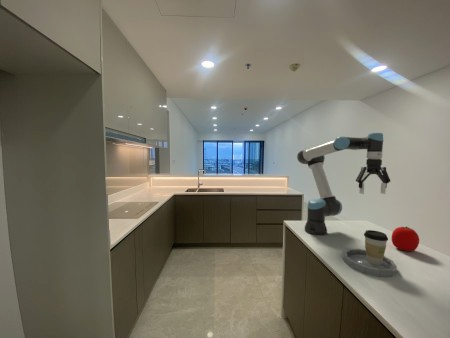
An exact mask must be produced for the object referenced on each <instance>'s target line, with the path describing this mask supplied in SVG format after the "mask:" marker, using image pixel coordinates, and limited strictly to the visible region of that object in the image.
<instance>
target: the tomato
mask: <svg viewBox="0 0 450 338" xmlns="http://www.w3.org/2000/svg"><path fill="white" fill-rule="evenodd" d="M390 240H391V243H392V245H393V246H394V247H395V248H396V249H399V250H401V251H405V252H414V251H415V250H417V248H419V244H420V237H419V234H418V232H417V231H415V229H413V228H410V227H408V226H398V227H396V228H395V229H394V230H393V231H392V234H391V239H390Z"/></svg>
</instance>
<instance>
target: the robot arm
mask: <svg viewBox="0 0 450 338" xmlns="http://www.w3.org/2000/svg"><path fill="white" fill-rule="evenodd" d="M383 146H384V134H383V133H382V132H369V133H368V134H367V137H349V136H338V137H336V138H334V140H332V141H329V142H325V143H324V144H320V145H318V146H314V147H312V148H304V149H302V150H300V151H299V152H298V153H297V155H296V158H297V161H298V162H299V163H300V164H302V165H307V166H308V169H311V173H312V175H313V178H314V179H313V180H314V181H315V185H316V188H317V192H318V194H319V198H313V199H309V200H308V202H307V219H306V222H305V224H304V231H305V232H306V233H308V234H310V235H316V236H325V235H328V229H327V225H326V220H325V219H326V217H333V216H338V215H340V214H341V213H342V211H343V205H342V202H341V200H339V199H337V198H336V195H334V194H333V192H332V190H331V187H330V184H329V181H328V179H327V175H326V172H325V169H324V167H323V166H324V163H325V159H326V158H325V156H326V155H329V154H333V153H336V152H339V151H344V150H353V151H357V150H358V151H359V150H366V162H365V163H366V166H361V167H360V171H359V173H358V175H357V177H356V179H355V182H357V183H358V188H359V191H358V193H359V194H363V195H364V193H365V183H364V182H365V181H366V179H367V178H369V176H371V175H376V176H377V177H378V179H380V181H381V183H380V194H383V195H386V190H387V186H388V184H389V183H391V178H390V176H389V174H388V172H387V167H386V166H382V165H383V159H382V158H383V150H384V149H383Z"/></svg>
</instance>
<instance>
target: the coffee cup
mask: <svg viewBox="0 0 450 338" xmlns="http://www.w3.org/2000/svg"><path fill="white" fill-rule="evenodd" d="M363 236H364V247H365V250H366V257H367V261H368V262H369V263H371V264H375V265H382V261H383V258H384V256H385V253H386V248H387V242H388V241H389V238H388V236H387V234H386V233H384V232H381V231H378V230H371V229H369V230H365V232H364V233H363Z"/></svg>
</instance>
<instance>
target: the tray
mask: <svg viewBox="0 0 450 338" xmlns="http://www.w3.org/2000/svg"><path fill="white" fill-rule="evenodd" d="M342 258H343V262H344V263H346V265H348V266H349V267H350V268H352V269H354V270H357V271H358V272H360V273H363V274H366V275H369V276H370V275H371V276H374V277H380V278H384V277H385V278H387V277H389V278H390V277H393V276H394V275H396V273H397V269H398V267H397V265H396V263H395V261H394V260H392V259H390V258H389V257H387V256H385V255H384V258H383V261H382V265H375V264H371V263H369V262H368V261H367V257H366V249H361V248H348V249H346V250H343V257H342Z"/></svg>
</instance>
